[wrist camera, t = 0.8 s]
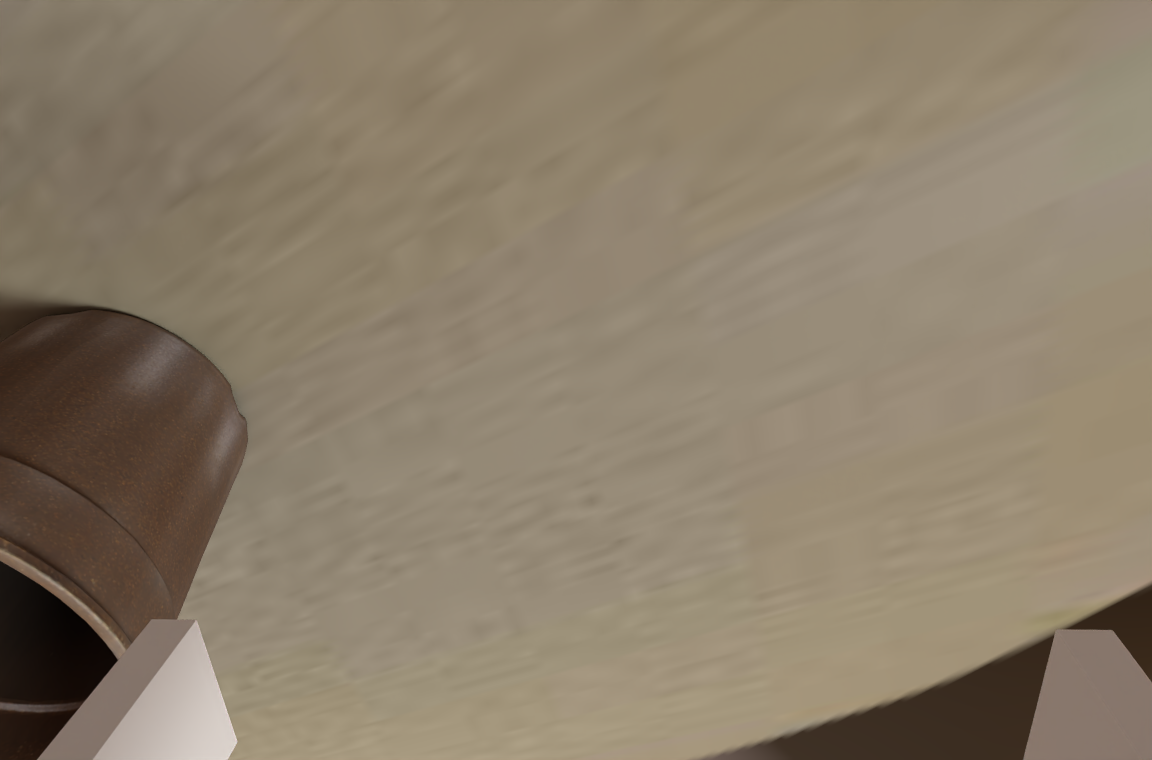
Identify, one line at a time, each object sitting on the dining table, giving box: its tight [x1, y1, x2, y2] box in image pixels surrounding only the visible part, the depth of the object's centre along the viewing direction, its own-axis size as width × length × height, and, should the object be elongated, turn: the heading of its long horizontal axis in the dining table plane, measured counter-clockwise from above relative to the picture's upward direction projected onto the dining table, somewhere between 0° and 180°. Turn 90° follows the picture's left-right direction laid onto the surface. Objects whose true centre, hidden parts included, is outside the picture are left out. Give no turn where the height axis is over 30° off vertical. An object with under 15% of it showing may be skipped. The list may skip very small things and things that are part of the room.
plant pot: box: [0, 310, 248, 760], centre depth 33 cm, size 16×16×16 cm
